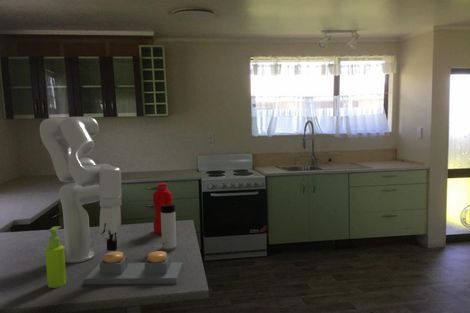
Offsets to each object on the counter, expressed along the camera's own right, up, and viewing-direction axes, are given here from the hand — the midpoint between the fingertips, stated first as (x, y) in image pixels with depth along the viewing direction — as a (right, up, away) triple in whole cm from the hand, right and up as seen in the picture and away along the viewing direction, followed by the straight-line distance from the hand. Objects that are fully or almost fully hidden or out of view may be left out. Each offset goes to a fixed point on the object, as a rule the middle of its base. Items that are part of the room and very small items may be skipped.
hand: (112, 249), depth 134 cm
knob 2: (+17, -7, 0) cm, 18 cm away
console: (+9, -9, 0) cm, 13 cm away
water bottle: (+8, -4, +52) cm, 53 cm away
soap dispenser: (-17, -11, -5) cm, 21 cm away
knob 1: (+1, -7, 0) cm, 7 cm away
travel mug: (+16, -7, +28) cm, 33 cm away
